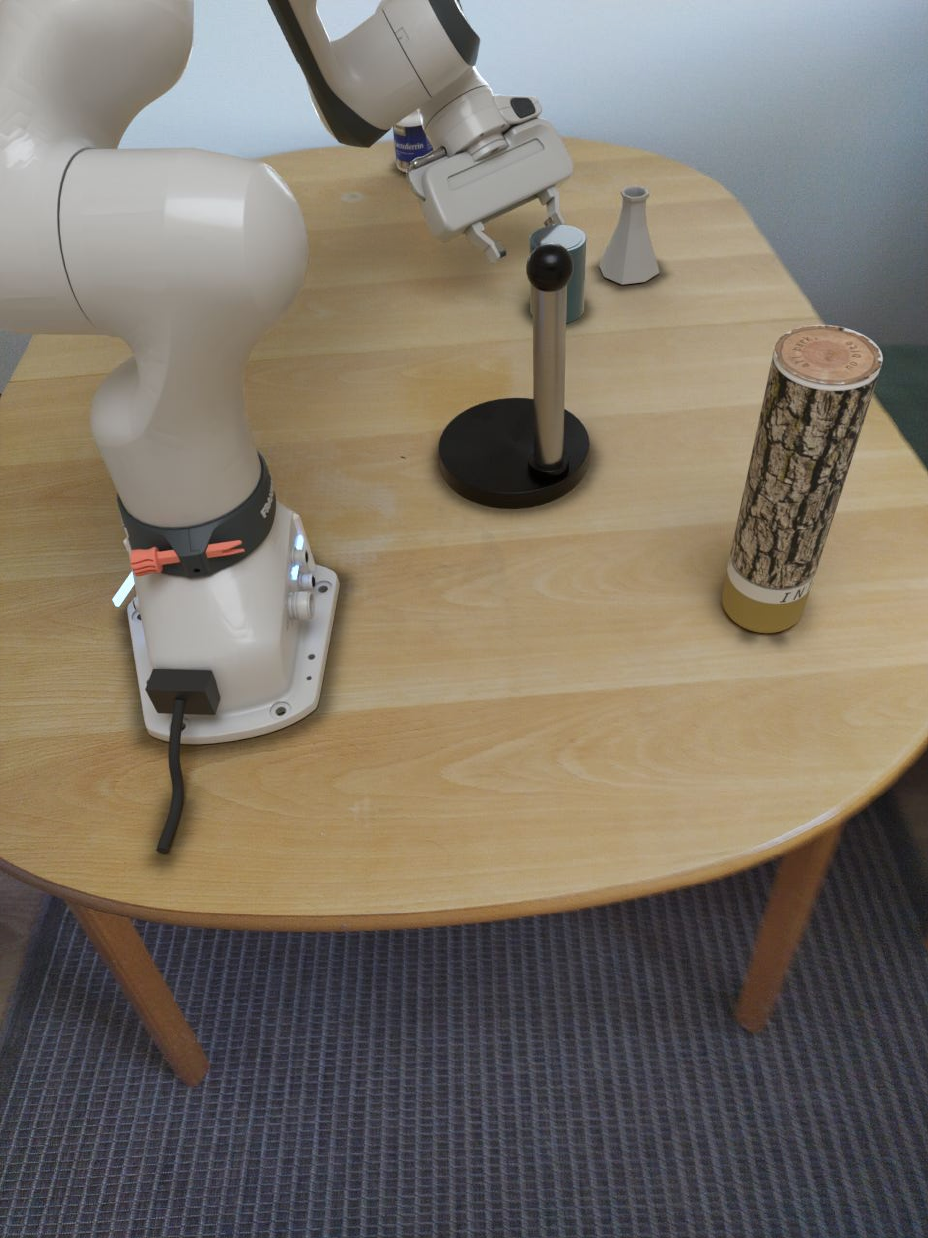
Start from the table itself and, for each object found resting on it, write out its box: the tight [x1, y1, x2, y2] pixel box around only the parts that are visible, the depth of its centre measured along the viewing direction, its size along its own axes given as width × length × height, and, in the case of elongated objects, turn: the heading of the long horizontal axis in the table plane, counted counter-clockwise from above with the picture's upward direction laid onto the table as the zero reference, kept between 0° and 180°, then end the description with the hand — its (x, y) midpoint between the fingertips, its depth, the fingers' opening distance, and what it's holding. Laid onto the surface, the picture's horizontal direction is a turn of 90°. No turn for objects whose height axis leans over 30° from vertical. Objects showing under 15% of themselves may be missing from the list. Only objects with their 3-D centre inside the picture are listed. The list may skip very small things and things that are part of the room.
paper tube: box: [721, 324, 884, 634], centre depth 71 cm, size 7×7×25 cm
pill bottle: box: [392, 110, 434, 174], centre depth 138 cm, size 6×6×10 cm
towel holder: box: [438, 243, 590, 510], centre depth 86 cm, size 15×15×24 cm
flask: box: [598, 184, 660, 285], centre depth 114 cm, size 7×7×10 cm
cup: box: [529, 224, 588, 325], centre depth 110 cm, size 6×6×9 cm
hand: (529, 244), depth 111 cm, fingers open, 8 cm apart
